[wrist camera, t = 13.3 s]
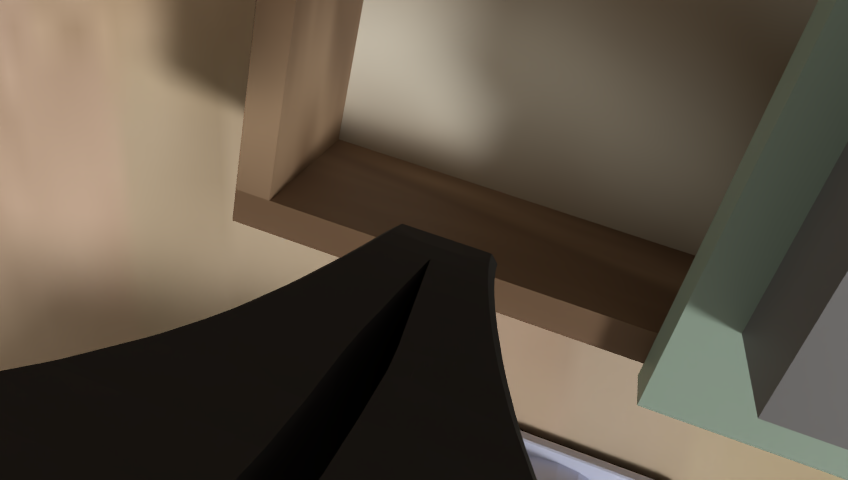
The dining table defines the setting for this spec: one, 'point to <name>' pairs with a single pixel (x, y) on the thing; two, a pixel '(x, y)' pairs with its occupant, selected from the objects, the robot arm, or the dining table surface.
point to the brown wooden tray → (515, 138)
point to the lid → (773, 277)
